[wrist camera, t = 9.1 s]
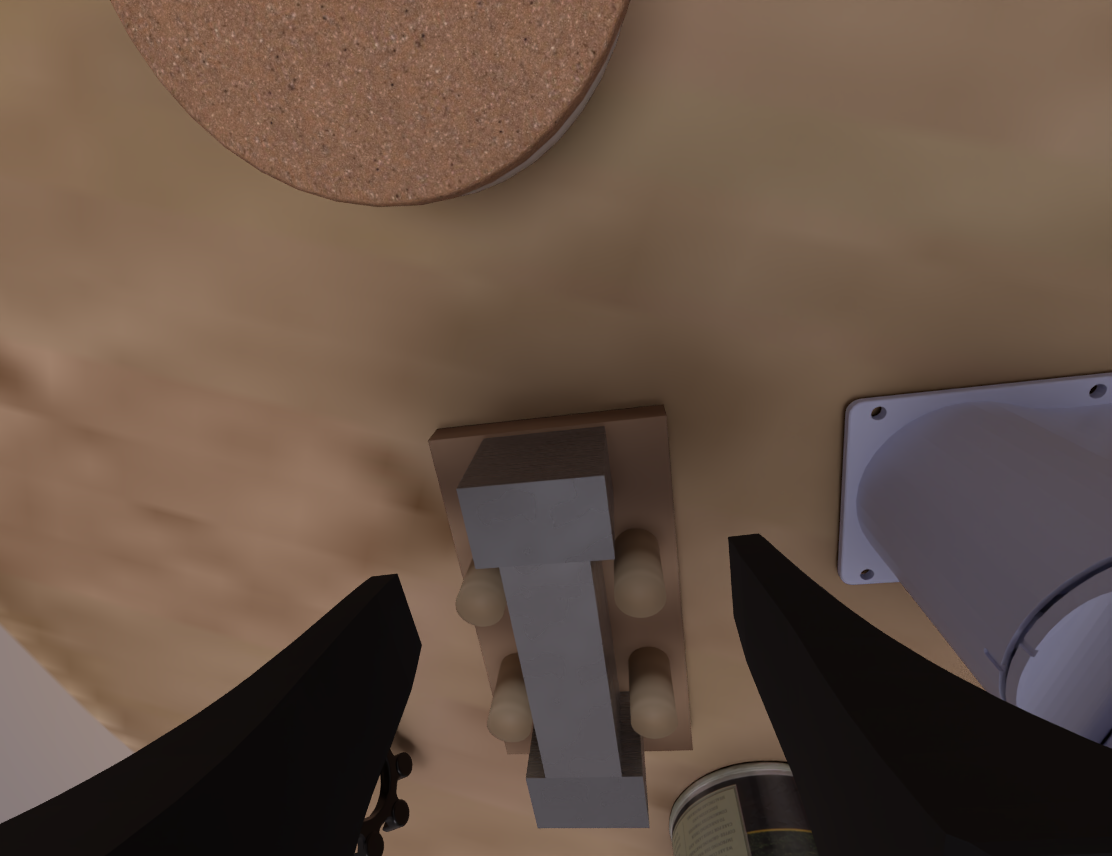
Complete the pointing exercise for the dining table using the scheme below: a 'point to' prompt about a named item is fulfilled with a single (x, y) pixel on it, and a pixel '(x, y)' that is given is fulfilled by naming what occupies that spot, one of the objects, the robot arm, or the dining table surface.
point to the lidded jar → (380, 85)
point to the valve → (386, 806)
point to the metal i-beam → (560, 618)
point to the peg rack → (630, 579)
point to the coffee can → (742, 814)
